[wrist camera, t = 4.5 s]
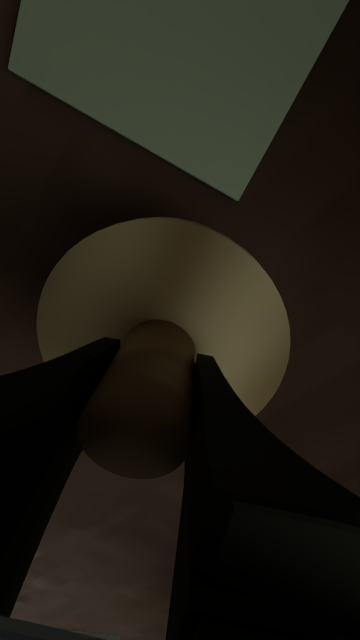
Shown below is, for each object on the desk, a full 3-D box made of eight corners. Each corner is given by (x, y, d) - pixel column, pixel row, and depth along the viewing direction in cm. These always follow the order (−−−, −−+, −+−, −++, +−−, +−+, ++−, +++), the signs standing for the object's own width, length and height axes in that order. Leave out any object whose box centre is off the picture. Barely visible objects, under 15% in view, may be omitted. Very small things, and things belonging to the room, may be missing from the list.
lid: (316, 237, 10) (433, 277, 5) (251, 440, 14) (276, 577, 9) (42, 199, 10) (-121, 197, 5) (58, 409, 15) (-24, 524, 9)
